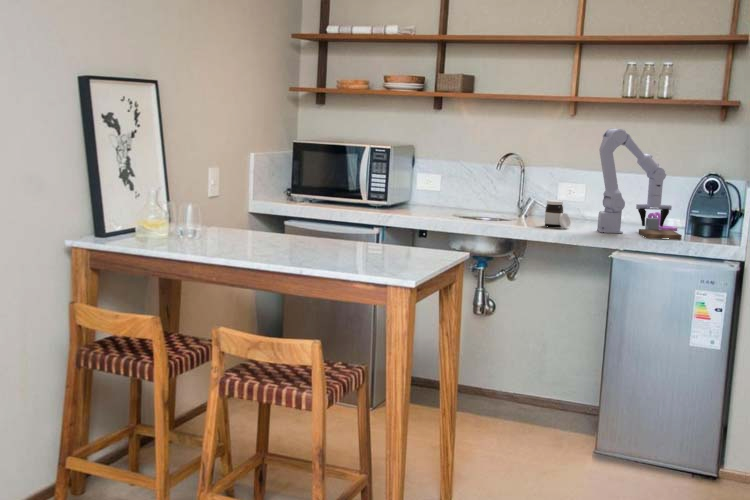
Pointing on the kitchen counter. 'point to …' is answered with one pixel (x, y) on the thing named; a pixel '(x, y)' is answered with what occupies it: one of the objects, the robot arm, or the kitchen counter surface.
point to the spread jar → (556, 215)
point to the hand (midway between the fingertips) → (652, 226)
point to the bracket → (659, 222)
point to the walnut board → (659, 234)
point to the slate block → (652, 223)
